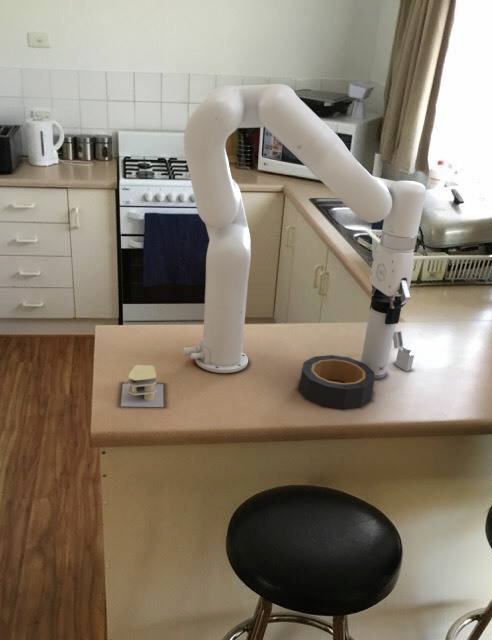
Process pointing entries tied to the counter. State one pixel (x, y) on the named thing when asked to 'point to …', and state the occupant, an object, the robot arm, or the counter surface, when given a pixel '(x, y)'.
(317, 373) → the tape roll
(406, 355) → the lighter
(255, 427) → the counter surface
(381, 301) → the travel mug
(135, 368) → the stacked layers on plate
